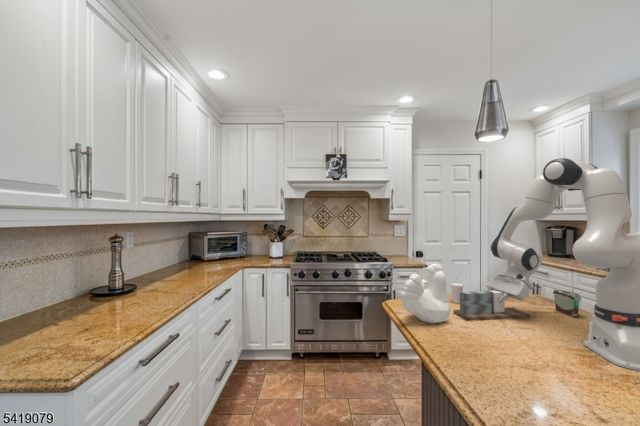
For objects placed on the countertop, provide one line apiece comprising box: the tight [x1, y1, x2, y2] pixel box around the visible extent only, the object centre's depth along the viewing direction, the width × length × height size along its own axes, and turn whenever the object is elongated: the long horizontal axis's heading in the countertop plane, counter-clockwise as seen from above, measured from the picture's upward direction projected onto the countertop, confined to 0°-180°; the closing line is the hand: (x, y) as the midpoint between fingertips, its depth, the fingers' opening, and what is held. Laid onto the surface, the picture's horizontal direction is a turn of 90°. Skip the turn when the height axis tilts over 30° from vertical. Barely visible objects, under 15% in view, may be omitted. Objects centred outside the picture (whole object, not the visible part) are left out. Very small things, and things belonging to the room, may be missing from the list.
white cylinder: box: [489, 290, 505, 313], centre depth 130 cm, size 5×3×9 cm, turn 97°
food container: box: [552, 289, 582, 319], centre depth 131 cm, size 12×6×10 cm, turn 179°
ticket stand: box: [453, 290, 532, 322], centre depth 130 cm, size 31×10×11 cm, turn 97°
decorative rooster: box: [400, 263, 451, 324], centre depth 124 cm, size 25×16×25 cm, turn 105°
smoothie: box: [450, 275, 464, 305], centre depth 149 cm, size 6×6×14 cm
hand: (495, 299), depth 130 cm, fingers closed on white cylinder, 3 cm apart
